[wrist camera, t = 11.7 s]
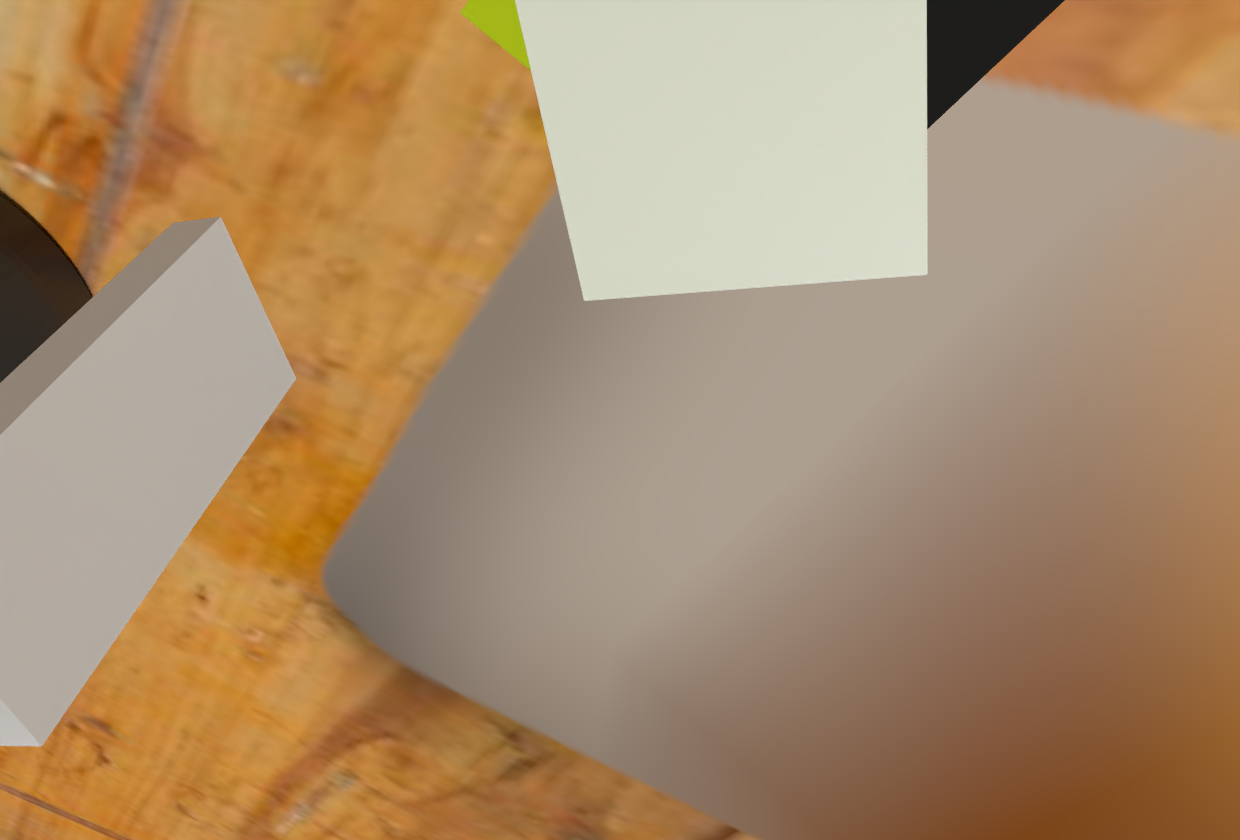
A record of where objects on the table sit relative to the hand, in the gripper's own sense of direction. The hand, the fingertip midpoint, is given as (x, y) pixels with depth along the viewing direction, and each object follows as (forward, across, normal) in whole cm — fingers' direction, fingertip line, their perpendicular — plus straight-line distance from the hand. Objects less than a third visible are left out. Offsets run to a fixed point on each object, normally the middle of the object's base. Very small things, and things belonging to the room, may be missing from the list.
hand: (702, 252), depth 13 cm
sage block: (+12, 0, 0) cm, 12 cm away
